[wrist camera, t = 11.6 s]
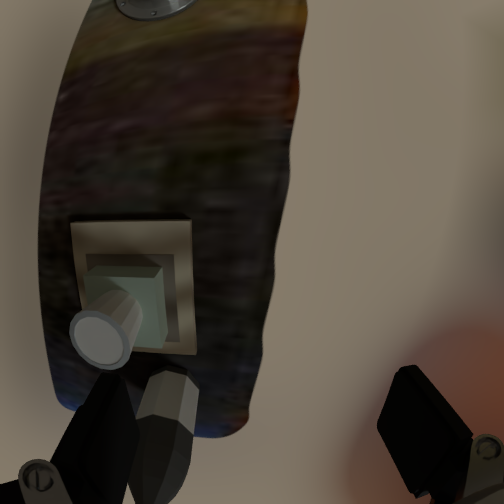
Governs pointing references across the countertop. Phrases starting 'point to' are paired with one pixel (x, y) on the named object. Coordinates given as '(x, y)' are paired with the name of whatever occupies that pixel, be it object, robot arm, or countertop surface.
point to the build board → (145, 255)
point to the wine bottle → (164, 435)
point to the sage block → (142, 289)
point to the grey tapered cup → (107, 329)
